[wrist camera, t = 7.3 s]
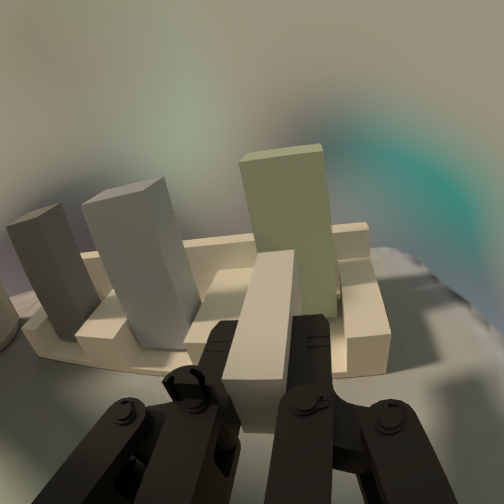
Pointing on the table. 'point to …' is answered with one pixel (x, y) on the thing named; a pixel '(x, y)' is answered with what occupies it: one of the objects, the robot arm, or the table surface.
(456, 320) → the table surface
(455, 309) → the table surface
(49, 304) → the key charcoal
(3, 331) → the jar
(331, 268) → the key sage
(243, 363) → the robot arm
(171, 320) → the key slate
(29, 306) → the table surface
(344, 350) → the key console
